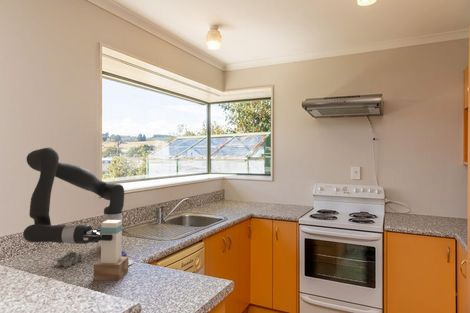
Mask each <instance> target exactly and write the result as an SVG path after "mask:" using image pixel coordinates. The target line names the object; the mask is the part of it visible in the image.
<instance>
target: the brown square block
mask: <svg viewBox="0 0 470 313" xmlns="http://www.w3.org/2000/svg"><path fill="white" fill-rule="evenodd" d="M128 259H129V256H127V257H121V259H120V260H119V261H118V262H117V263H101V259H99V260H98V261H97V262H95V263H93V281H94V280H96V281H97V280H98V281H120V280H121V279H122V278H123V277H124V276H125V275H126V274H127V273H128V272H129V265H128V263H129V262H128Z"/></svg>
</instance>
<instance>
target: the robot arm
mask: <svg viewBox="0 0 470 313" xmlns="http://www.w3.org/2000/svg"><path fill="white" fill-rule="evenodd" d="M26 163H27V165H28V166H29V168H31V169H32V170H35V171H37V172H39V173H40V174H39V178H38V181H37V184H36V185H35V188H34V190H33V192H32V195H31V198H30V202H29V203H30V204H29V213H28V214H29V215H28V216H29V217H30V218H31V219H33V222H34V223H33V224H30V225H28V226H26V228H25V229H24V230H23V233H22V236H23V238H24V240H26V241H27V242H30V243H45V242H46V243H47V242H48V243H49V242H50V243H63V244H74V245H75V244H78V245H81V244H82V245H83V244H84V245H87V244H89V243H94V244H95V243H99V242H101V241H102V240H103V241H111V240H112V239H113V236H112V235H103V236H102V234H101V227H98V228H94V229H93V227H92V226H91V225H90V224H57V225H54V224H53V225H52V222H51V216H50V207H51V197H52V189H53V185H54V182H55V178H58V179H60V180H61V181H64V182H67V183H68V184H71V185H73V186H75V187H78V188H81V189H83V190H85V191H88V192H90V193H91V192H92V193H93V194H95V195H97V196H99V197H100V198H102V199H104V200H107V201H109V205H108V206H105V207H104V208H103V222H104V221H106V220H122V221H123V209H124V205H125V204H124V203H125V188H124V186H123V185H122V184H120V183H110V182H107V181H104V180H100V179H99V178H98V177H97V176H96V175H95V174H94V173H93V172H92V171H90V170H88V169H87V168H85V167H82V166H80V165H77V164H71V163H70V164H69V163H65V162H62V161H60V157H59V153H58V152H57V150H56V149H54V148H53V147H43V148H39V149H35V150H32V151H31V152H29V153H27V156H26Z"/></svg>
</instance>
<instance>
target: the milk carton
mask: <svg viewBox="0 0 470 313" xmlns="http://www.w3.org/2000/svg"><path fill="white" fill-rule="evenodd" d="M100 228H101V234H102V236H103V235H112V236H113V239H112V240H111V241H103V240H102V241H100V260H101V263H117V262H118V261H119V260H120V259H121V255H122V251H123V250H122V248H123V247H122V245H123V244H122V243H123V242H122V241H123V219H122V220H106V221H104V220H103V222H101V227H100Z"/></svg>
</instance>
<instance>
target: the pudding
mask: <svg viewBox="0 0 470 313" xmlns="http://www.w3.org/2000/svg"><path fill="white" fill-rule="evenodd" d="M121 257H128V256H127V252H125V251H123V250H122V255H121ZM133 263H134V260H133V259H130V258H128V266H130V265H133Z"/></svg>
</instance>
